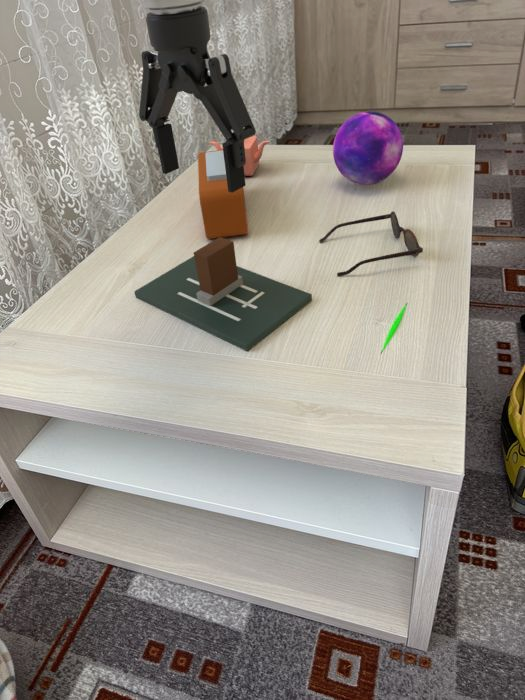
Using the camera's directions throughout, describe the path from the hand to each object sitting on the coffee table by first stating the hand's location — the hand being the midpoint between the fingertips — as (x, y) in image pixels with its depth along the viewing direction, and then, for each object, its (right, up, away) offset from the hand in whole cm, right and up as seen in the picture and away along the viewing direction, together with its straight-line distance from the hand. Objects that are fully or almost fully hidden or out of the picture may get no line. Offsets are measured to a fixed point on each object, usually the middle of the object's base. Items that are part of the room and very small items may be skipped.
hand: (202, 179), depth 79 cm
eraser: (+2, -15, +12) cm, 19 cm away
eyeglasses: (+28, -7, +21) cm, 35 cm away
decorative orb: (+32, +13, +45) cm, 57 cm away
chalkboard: (+2, -16, +13) cm, 21 cm away
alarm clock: (+1, +4, +38) cm, 39 cm away
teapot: (+4, +19, +57) cm, 60 cm away
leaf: (+29, -22, +3) cm, 36 cm away
